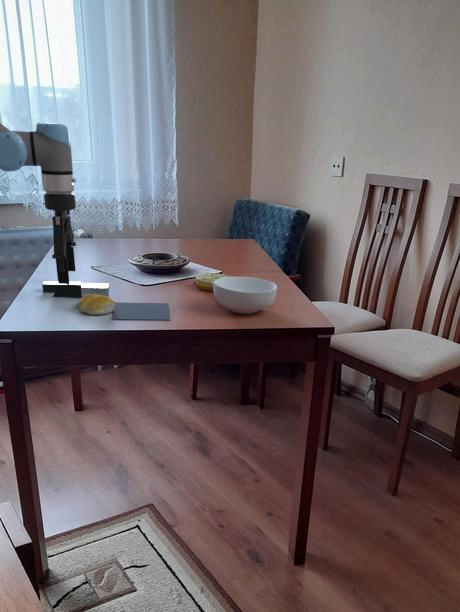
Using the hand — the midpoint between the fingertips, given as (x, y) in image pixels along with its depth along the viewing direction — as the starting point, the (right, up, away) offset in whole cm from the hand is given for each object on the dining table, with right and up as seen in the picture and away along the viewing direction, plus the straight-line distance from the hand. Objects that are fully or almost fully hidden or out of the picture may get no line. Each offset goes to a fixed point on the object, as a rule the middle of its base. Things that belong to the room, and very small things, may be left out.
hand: (67, 277), depth 148 cm
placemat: (+21, -10, -6) cm, 24 cm away
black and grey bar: (+2, -5, +3) cm, 6 cm away
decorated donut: (+39, +1, +18) cm, 42 cm away
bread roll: (+10, -10, -8) cm, 17 cm away
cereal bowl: (+47, -9, 0) cm, 48 cm away
